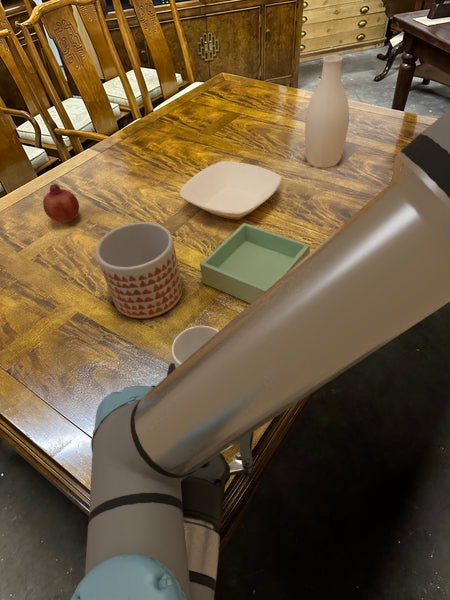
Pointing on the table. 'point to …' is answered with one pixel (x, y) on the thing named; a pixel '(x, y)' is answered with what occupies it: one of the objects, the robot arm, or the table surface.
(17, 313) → the table surface
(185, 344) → the white cup
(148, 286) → the planter
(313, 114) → the bottle
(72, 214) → the fruit
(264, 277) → the bin
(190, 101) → the table surface
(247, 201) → the bowl
